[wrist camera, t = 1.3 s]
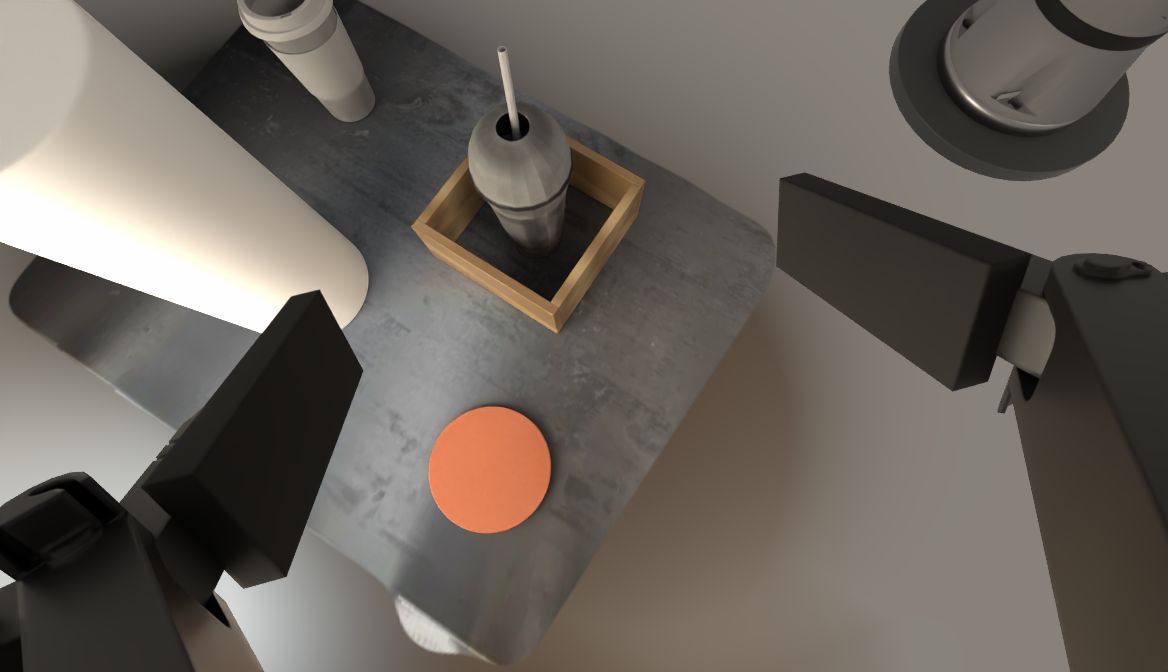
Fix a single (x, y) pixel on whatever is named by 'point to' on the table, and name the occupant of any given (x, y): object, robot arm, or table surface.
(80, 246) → the tall pillar cylinder
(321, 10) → the cup
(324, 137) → the table surface
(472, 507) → the coaster
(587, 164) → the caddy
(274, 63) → the table surface
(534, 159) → the beverage cup
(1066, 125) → the robot arm
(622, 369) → the table surface
